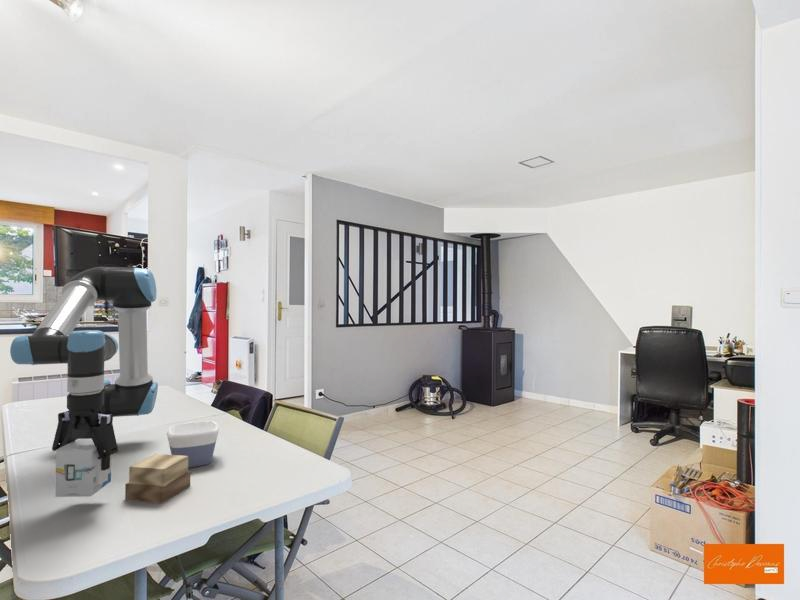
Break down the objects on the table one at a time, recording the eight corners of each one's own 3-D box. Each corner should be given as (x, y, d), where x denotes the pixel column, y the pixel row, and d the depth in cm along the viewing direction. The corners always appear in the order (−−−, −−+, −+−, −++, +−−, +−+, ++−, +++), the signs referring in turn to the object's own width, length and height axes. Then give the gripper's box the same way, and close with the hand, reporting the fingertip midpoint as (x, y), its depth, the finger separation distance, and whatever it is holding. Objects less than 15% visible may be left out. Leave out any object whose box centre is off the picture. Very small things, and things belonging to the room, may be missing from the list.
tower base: (125, 501, 112) (125, 483, 112) (155, 484, 123) (156, 468, 123) (162, 505, 110) (162, 487, 110) (190, 487, 121) (190, 471, 121)
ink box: (77, 481, 111) (78, 437, 111) (111, 481, 112) (112, 437, 112) (53, 497, 103) (54, 449, 103) (91, 496, 103) (91, 449, 103)
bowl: (165, 474, 129) (166, 437, 129) (166, 457, 142) (167, 424, 143) (220, 465, 136) (221, 431, 136) (216, 451, 149) (217, 419, 150)
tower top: (129, 483, 112) (129, 466, 112) (155, 469, 122) (155, 453, 122) (164, 486, 111) (164, 469, 111) (187, 471, 120) (188, 455, 120)
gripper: (33, 392, 105) (32, 482, 106) (111, 398, 102) (109, 491, 102) (62, 386, 113) (61, 470, 113) (136, 391, 109) (134, 478, 109)
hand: (84, 480), depth 107 cm, fingers closed on ink box, 9 cm apart
